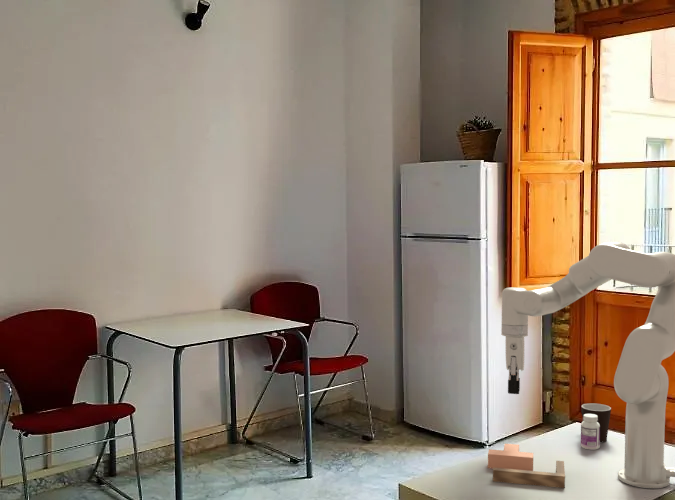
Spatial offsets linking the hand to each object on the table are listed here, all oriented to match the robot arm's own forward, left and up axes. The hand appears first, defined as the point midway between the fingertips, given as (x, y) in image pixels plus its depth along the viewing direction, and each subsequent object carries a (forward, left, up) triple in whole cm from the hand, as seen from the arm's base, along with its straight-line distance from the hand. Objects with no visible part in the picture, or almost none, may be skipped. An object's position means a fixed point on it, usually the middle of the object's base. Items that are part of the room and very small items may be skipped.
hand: (513, 391), depth 225 cm
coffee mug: (-24, -18, -17) cm, 35 cm away
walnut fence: (-5, +21, -17) cm, 28 cm away
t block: (0, +13, -17) cm, 22 cm away
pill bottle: (-22, -8, -17) cm, 29 cm away
